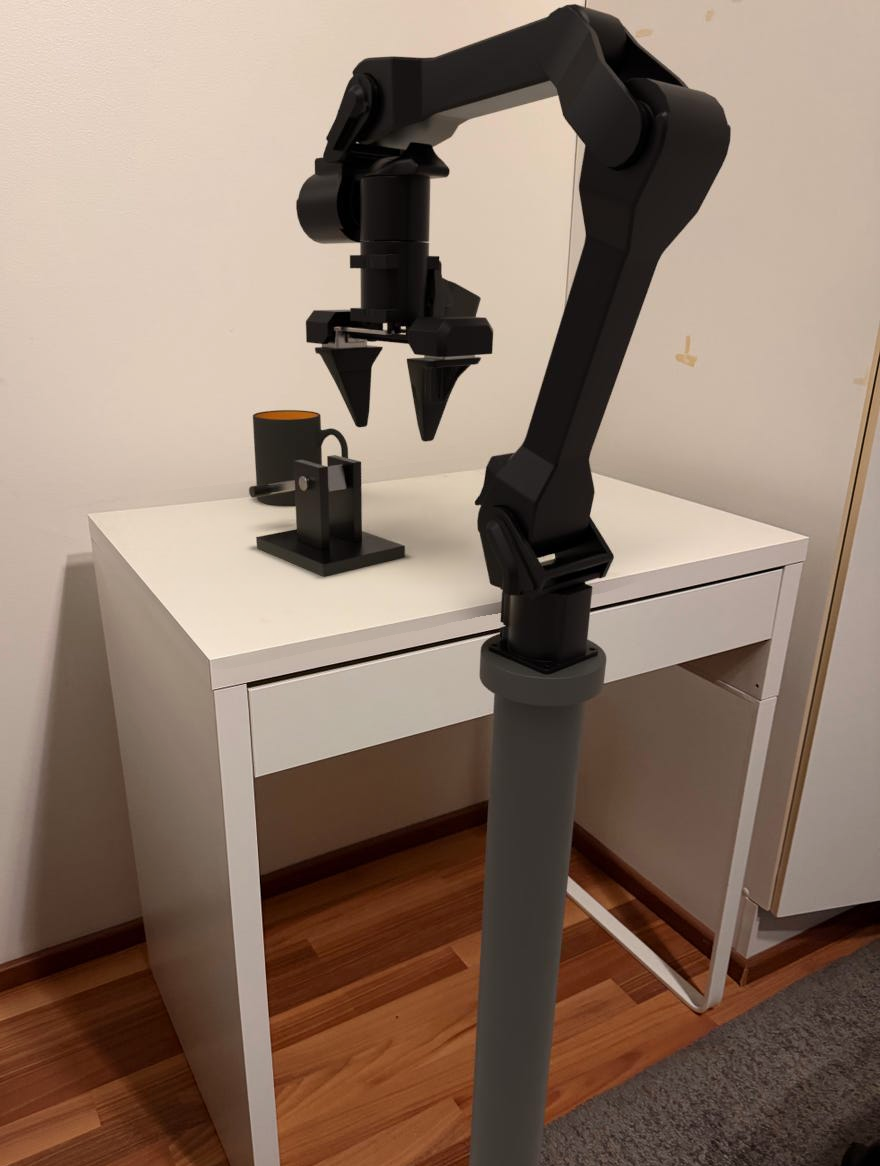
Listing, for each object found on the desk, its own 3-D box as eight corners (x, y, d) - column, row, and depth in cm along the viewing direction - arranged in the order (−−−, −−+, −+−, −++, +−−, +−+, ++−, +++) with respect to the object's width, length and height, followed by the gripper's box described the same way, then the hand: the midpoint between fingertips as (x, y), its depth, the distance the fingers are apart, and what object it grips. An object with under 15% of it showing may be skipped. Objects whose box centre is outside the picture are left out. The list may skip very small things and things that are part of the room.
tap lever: (251, 503, 93) (246, 481, 93) (290, 497, 96) (286, 475, 96) (317, 494, 83) (312, 468, 83) (358, 486, 86) (354, 462, 86)
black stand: (256, 548, 90) (251, 457, 86) (335, 531, 96) (333, 446, 92) (323, 576, 81) (320, 478, 78) (405, 556, 87) (406, 464, 84)
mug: (337, 510, 105) (335, 422, 101) (246, 503, 108) (241, 417, 104) (359, 495, 112) (358, 413, 108) (273, 488, 115) (269, 408, 111)
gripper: (545, 243, 70) (531, 438, 76) (396, 246, 83) (395, 413, 89) (444, 239, 63) (438, 453, 69) (299, 243, 76) (305, 423, 83)
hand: (393, 433), depth 78 cm, fingers open, 9 cm apart
